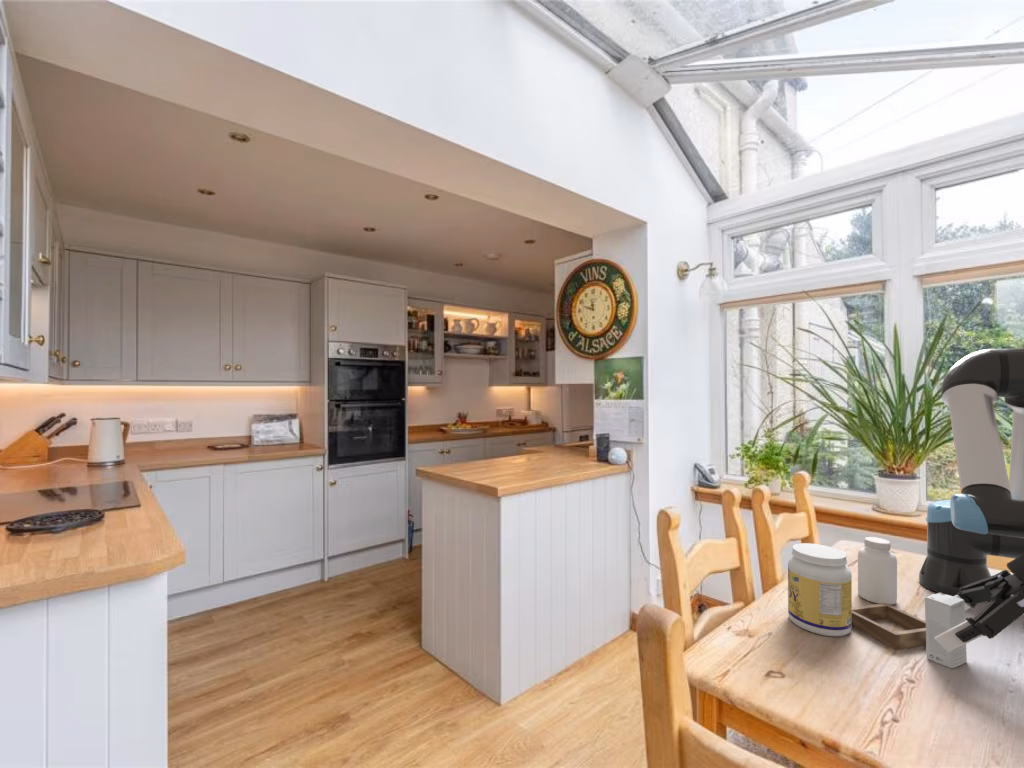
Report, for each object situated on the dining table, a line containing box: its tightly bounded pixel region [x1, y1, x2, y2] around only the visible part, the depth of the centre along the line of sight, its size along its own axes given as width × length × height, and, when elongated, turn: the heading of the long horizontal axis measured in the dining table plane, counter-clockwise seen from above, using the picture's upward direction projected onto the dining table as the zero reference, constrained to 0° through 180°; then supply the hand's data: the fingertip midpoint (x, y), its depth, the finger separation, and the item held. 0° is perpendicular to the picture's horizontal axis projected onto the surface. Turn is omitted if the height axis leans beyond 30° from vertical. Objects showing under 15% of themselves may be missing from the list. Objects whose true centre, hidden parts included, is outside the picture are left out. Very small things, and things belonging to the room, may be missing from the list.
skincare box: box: [924, 592, 968, 669], centre depth 94 cm, size 6×4×12 cm
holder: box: [852, 603, 926, 651], centre depth 104 cm, size 12×12×3 cm
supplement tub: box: [787, 542, 853, 637], centre depth 108 cm, size 12×12×17 cm
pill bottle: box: [857, 536, 898, 606], centre depth 121 cm, size 8×8×15 cm
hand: (937, 630), depth 94 cm, fingers open, 13 cm apart
